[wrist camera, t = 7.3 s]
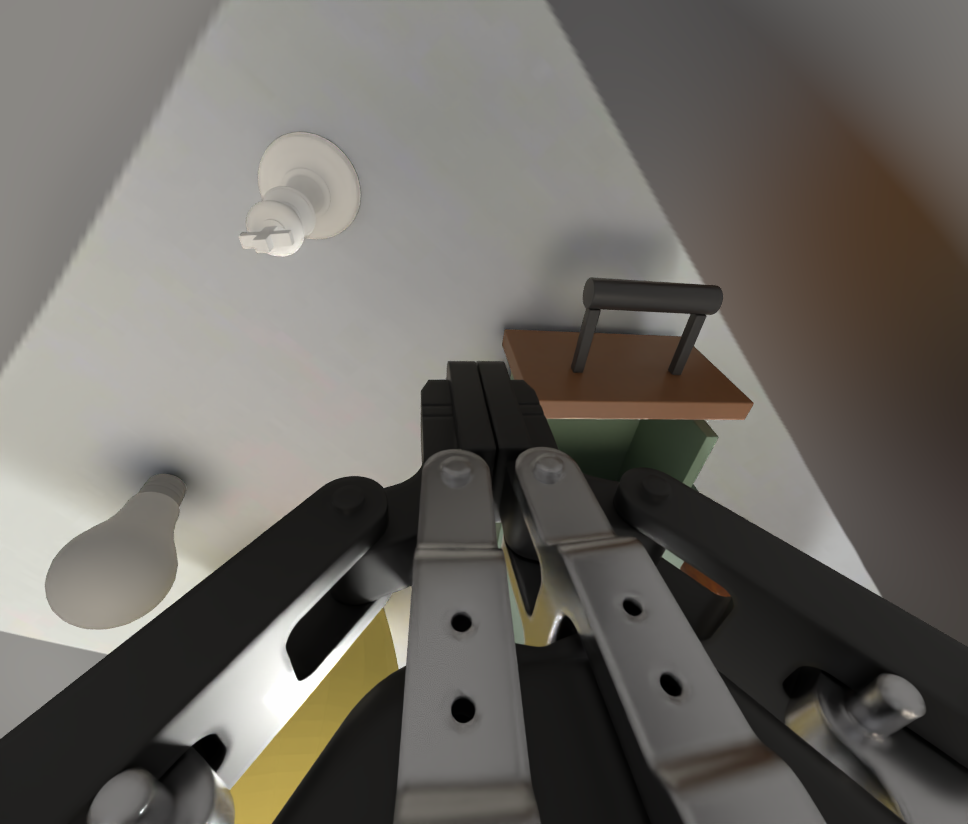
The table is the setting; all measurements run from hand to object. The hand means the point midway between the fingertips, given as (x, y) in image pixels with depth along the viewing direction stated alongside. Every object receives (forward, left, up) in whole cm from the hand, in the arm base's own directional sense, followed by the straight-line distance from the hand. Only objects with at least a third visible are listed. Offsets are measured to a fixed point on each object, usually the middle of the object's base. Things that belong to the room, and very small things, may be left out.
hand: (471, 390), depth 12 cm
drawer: (+4, +14, -15) cm, 21 cm away
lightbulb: (+26, -7, -16) cm, 32 cm away
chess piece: (+2, -6, -16) cm, 18 cm away
